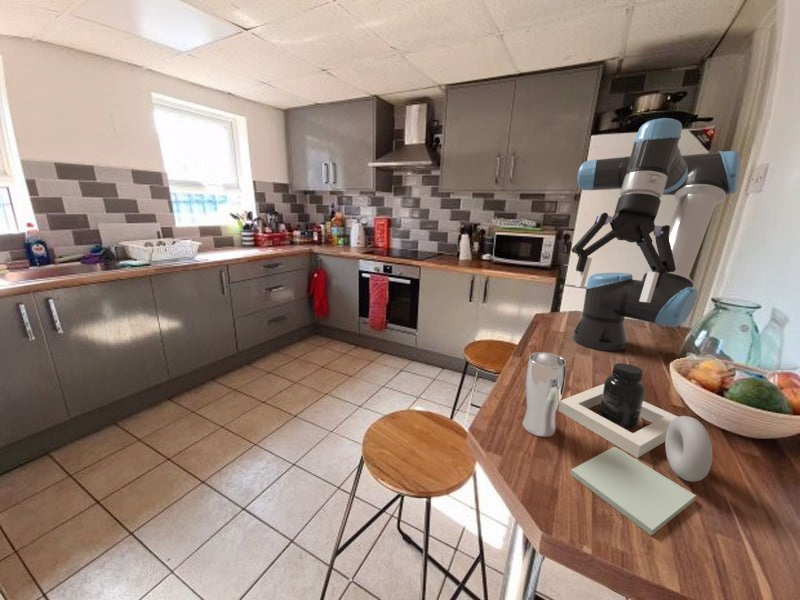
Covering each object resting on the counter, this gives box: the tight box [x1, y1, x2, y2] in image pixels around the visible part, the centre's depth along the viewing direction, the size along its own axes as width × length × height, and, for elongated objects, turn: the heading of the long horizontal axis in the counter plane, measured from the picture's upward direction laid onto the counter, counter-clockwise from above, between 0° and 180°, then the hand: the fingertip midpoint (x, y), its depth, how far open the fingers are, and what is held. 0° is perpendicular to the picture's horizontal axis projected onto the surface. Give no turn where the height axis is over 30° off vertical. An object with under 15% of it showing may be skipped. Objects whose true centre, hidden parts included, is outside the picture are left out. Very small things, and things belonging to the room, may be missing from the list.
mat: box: [570, 446, 697, 537], centre depth 52 cm, size 12×12×1 cm
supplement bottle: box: [598, 362, 646, 431], centre depth 67 cm, size 7×7×12 cm
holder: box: [557, 383, 679, 459], centre depth 68 cm, size 16×16×2 cm
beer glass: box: [522, 351, 567, 438], centre depth 65 cm, size 7×7×15 cm
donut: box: [664, 415, 713, 482], centre depth 54 cm, size 10×4×10 cm, turn 159°
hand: (611, 294), depth 72 cm, fingers open, 13 cm apart
